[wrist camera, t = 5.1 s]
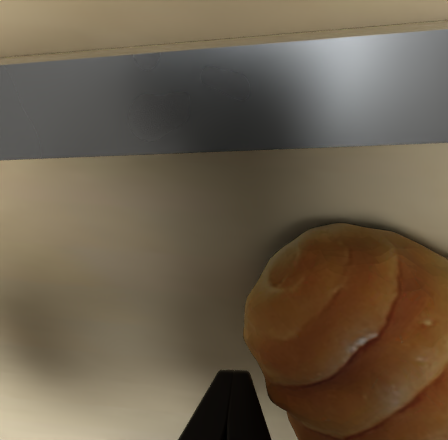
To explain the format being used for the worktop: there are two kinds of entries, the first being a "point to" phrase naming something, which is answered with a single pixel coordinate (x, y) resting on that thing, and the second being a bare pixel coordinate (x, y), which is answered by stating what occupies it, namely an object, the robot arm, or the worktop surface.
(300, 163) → the worktop surface
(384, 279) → the pastry
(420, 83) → the rail pocket
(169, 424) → the worktop surface
